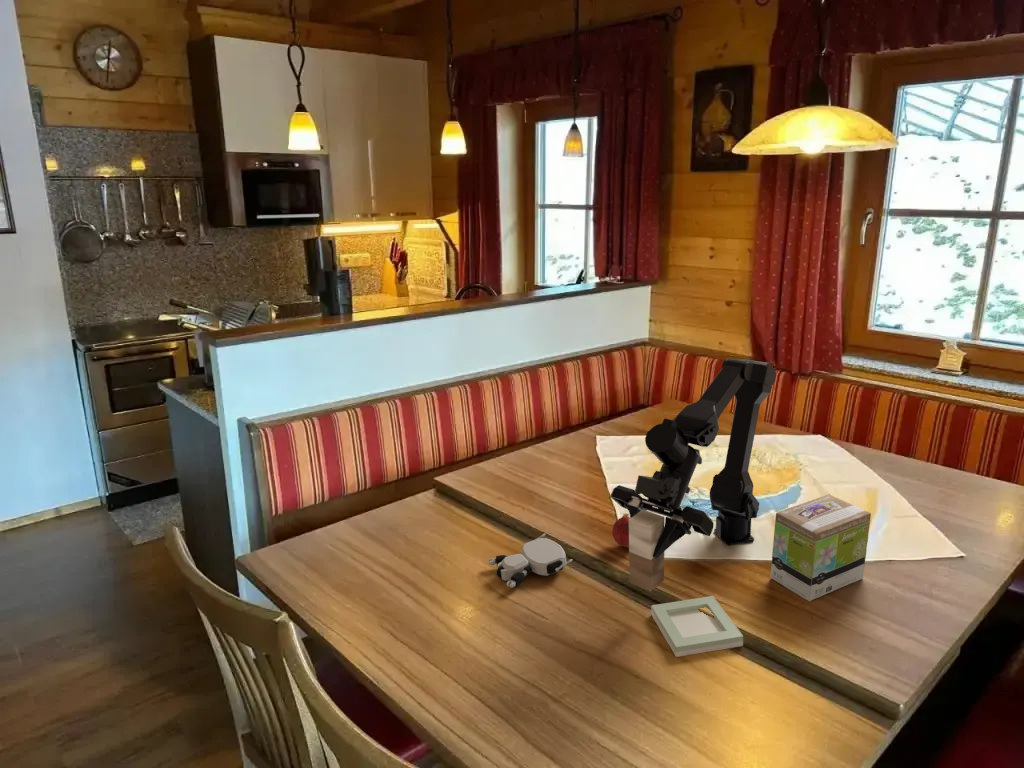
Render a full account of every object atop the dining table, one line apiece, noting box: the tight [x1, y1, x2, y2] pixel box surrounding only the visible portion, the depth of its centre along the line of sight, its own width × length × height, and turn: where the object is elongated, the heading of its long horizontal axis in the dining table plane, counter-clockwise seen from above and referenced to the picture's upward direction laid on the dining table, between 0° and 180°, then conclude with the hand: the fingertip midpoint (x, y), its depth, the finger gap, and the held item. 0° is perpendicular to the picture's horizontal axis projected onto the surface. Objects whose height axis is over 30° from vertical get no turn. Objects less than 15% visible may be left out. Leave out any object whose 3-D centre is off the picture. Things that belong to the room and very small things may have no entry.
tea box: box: [769, 494, 872, 602], centre depth 136 cm, size 15×10×15 cm, turn 117°
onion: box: [611, 512, 630, 548], centre depth 152 cm, size 6×6×8 cm
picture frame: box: [650, 595, 744, 658], centre depth 125 cm, size 12×12×2 cm
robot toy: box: [488, 533, 574, 588], centre depth 146 cm, size 12×4×15 cm
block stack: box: [628, 510, 665, 593], centre depth 127 cm, size 4×4×13 cm
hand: (642, 553), depth 126 cm, fingers closed on block stack, 4 cm apart
